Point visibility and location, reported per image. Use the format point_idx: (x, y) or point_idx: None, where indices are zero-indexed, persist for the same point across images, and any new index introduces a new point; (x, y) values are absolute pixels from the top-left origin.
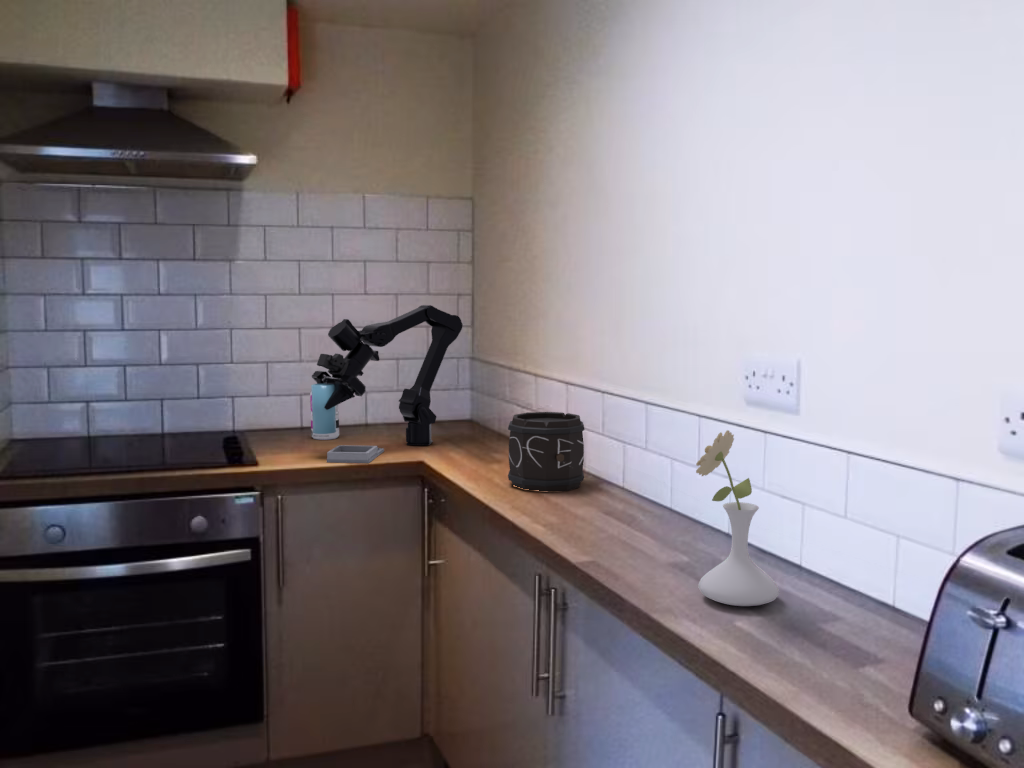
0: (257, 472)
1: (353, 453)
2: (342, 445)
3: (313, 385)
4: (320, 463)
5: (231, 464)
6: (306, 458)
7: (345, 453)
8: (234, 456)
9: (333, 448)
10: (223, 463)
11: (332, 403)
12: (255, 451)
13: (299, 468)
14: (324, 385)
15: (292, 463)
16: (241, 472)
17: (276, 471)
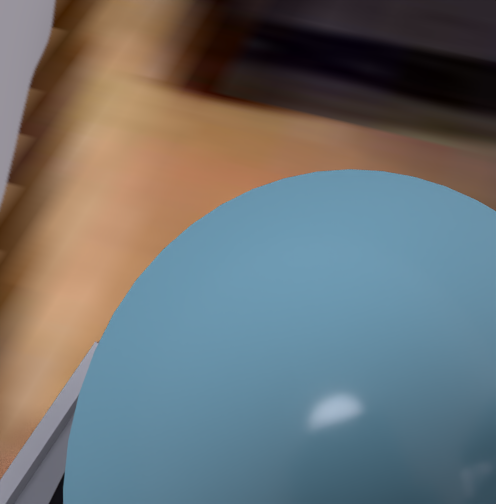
0: (48, 57)
1: (6, 472)
2: None
3: (324, 195)
4: (101, 308)
5: (242, 25)
6: None
7: (36, 430)
8: (388, 66)
9: None
10: (272, 9)
11: None
12: (463, 147)
13: (39, 203)
14: (188, 445)
15: (160, 205)
16: (79, 16)
17: (28, 115)
